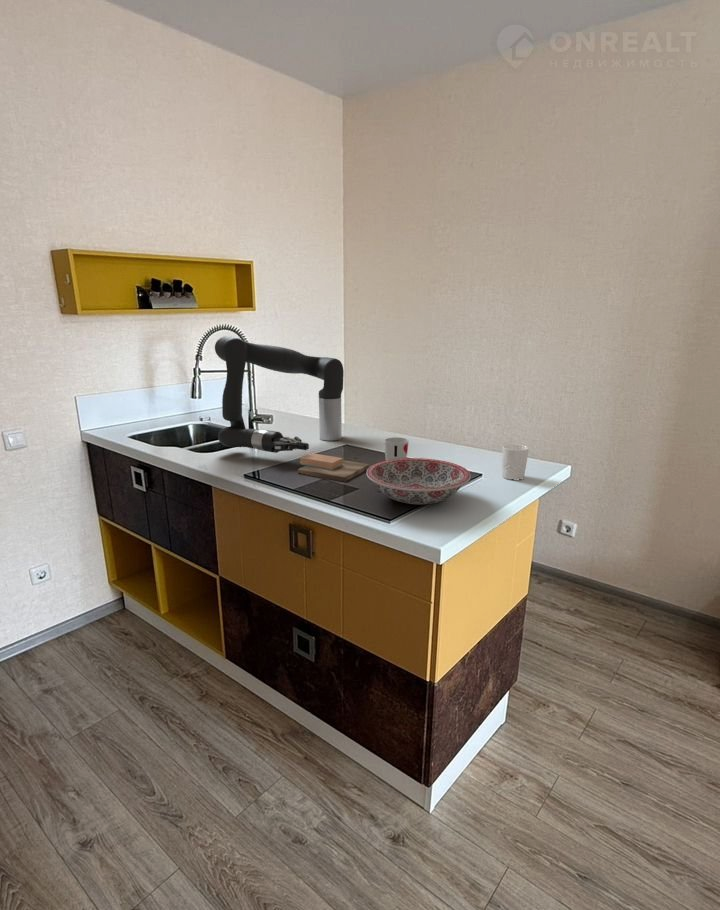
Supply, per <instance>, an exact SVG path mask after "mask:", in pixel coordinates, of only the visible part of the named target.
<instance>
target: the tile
mask: <svg viewBox="0 0 720 910" xmlns="http://www.w3.org/2000/svg"><path fill="white" fill-rule="evenodd" d="M299 460H300V461H299V463H300V465H303V466H306V465H308V466H313V467H319V468H324V469H330V470H333V469H335V468H338V467H340V466H342V465H343V460H344V458H343V457H338V456H332V455H331V456H330V455H325V454H320V453H313V452H310V453H308V454H305V455H302V456H300V457H299Z"/></svg>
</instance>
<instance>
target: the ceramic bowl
mask: <svg viewBox="0 0 720 910" xmlns="http://www.w3.org/2000/svg"><path fill="white" fill-rule="evenodd" d="M366 476H367V478H368V479H369V480H370V481H371V482H373V483H374V484H375V485H376V487H377V488H378V489H379V490H380V492H381V493H383V494H384V495H385V496H387V497H388V498H390V499H392V500H393V501H396V502H400V503H403V504H409V505H431V504H432V505H433V504H437V503H440V502H444V501H445V500H447V499H449V498H451V497H452V496H454V494H456V493H457V492H458V491H459V490H460V488H461V487H462V486H464V485H466V484H467V483H468V482H470V480H471V477H472V476H471V472H470V471H469V470H468V469H466V468H465V467H463V466H461V465H459V464H457V463H453V462H451V461H445V460H439V459H432V458H424V457H423V458H422V457H410V458H409V457H406V458H403V459H393V460H387V461H386V460H384V461H379V462H377V463H375V464H374V463H373V465H371V466H369V468H368V470H366Z"/></svg>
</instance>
